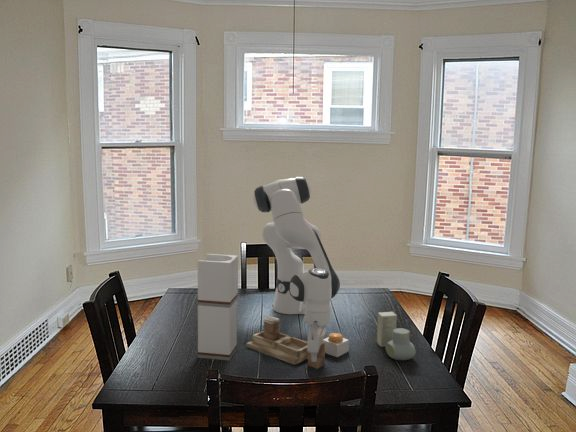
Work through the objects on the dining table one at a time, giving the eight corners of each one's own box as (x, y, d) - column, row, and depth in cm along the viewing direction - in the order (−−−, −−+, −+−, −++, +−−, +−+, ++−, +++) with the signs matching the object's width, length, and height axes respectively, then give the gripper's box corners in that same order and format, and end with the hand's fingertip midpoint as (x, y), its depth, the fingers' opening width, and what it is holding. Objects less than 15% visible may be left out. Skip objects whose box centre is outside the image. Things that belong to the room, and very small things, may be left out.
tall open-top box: (237, 348, 210) (238, 255, 204) (229, 360, 199) (230, 262, 194) (207, 345, 212) (207, 253, 206) (198, 357, 201) (197, 260, 195)
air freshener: (382, 352, 210) (384, 326, 208) (403, 350, 212) (404, 324, 210) (396, 364, 199) (397, 337, 198) (417, 362, 202) (419, 335, 200)
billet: (314, 361, 200) (315, 337, 199) (324, 365, 198) (325, 340, 196) (307, 365, 197) (308, 340, 196) (317, 368, 195) (317, 343, 193)
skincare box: (391, 341, 220) (393, 311, 218) (395, 346, 216) (397, 315, 214) (376, 342, 219) (377, 311, 217) (379, 346, 214) (381, 315, 212)
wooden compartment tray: (271, 336, 222) (272, 310, 220) (319, 352, 208) (320, 325, 206) (246, 346, 212) (246, 319, 210) (294, 365, 197) (295, 336, 195)
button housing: (332, 346, 214) (333, 334, 213) (348, 351, 210) (348, 339, 209) (321, 351, 209) (322, 340, 208) (337, 357, 204) (337, 345, 204)
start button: (333, 340, 212) (334, 331, 212) (344, 344, 209) (345, 335, 208) (325, 344, 208) (326, 335, 208) (336, 348, 205) (337, 339, 205)
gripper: (322, 328, 184) (321, 369, 186) (330, 308, 204) (329, 344, 206) (303, 326, 185) (302, 366, 187) (313, 306, 205) (311, 343, 207)
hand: (316, 355), depth 197 cm, fingers open, 8 cm apart
